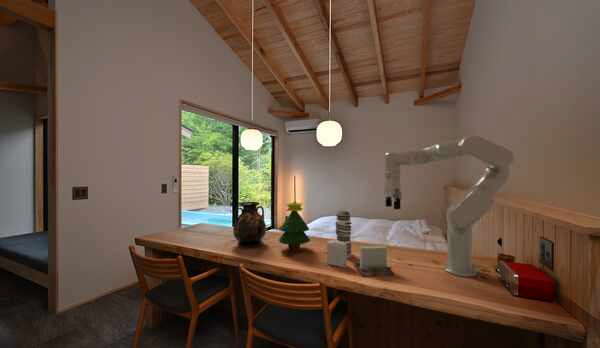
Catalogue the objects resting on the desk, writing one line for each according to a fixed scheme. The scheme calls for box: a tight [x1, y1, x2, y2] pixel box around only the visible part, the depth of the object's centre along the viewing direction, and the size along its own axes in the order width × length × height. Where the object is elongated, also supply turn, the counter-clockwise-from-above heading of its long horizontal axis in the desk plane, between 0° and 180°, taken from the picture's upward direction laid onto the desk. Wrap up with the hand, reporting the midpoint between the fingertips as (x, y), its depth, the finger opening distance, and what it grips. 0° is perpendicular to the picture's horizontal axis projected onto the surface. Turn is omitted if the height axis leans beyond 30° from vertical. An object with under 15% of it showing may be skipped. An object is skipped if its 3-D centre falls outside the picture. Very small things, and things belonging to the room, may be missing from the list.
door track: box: [353, 261, 395, 277], centre depth 111 cm, size 15×12×3 cm
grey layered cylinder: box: [335, 210, 352, 258], centre depth 132 cm, size 9×9×25 cm
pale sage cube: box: [359, 245, 388, 268], centre depth 111 cm, size 12×3×10 cm, turn 93°
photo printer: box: [326, 239, 348, 268], centre depth 118 cm, size 10×4×12 cm, turn 60°
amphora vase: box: [232, 201, 267, 249], centre depth 152 cm, size 22×22×28 cm
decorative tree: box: [278, 201, 311, 253], centre depth 142 cm, size 19×19×30 cm
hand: (392, 207), depth 123 cm, fingers open, 9 cm apart
